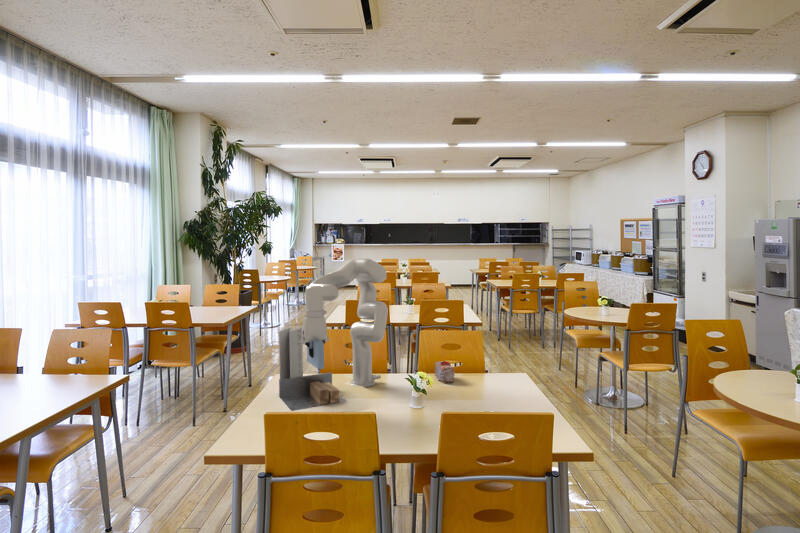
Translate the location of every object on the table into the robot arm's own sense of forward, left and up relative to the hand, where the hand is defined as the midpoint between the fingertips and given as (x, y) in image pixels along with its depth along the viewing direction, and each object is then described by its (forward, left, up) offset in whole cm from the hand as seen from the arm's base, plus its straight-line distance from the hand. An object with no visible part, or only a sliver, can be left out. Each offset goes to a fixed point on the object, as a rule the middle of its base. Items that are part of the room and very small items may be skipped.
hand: (315, 356), depth 205 cm
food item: (-71, -7, -22) cm, 75 cm away
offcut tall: (-3, -6, -21) cm, 22 cm away
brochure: (+3, -28, -22) cm, 36 cm away
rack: (-1, -7, -22) cm, 23 cm away
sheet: (0, 0, -4) cm, 4 cm away
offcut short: (-8, -6, -21) cm, 23 cm away
